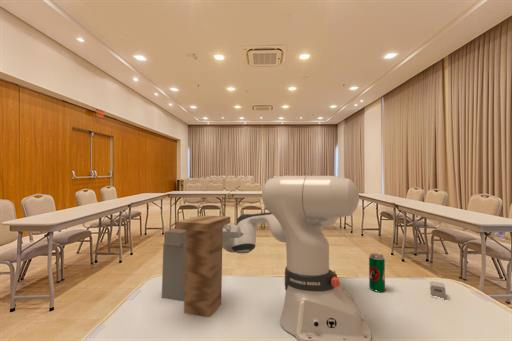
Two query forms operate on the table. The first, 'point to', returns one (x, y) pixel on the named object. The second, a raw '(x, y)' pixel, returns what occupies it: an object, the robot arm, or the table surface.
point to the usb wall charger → (437, 289)
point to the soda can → (377, 272)
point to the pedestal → (173, 272)
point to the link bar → (175, 237)
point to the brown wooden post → (203, 263)
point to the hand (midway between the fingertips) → (212, 223)
